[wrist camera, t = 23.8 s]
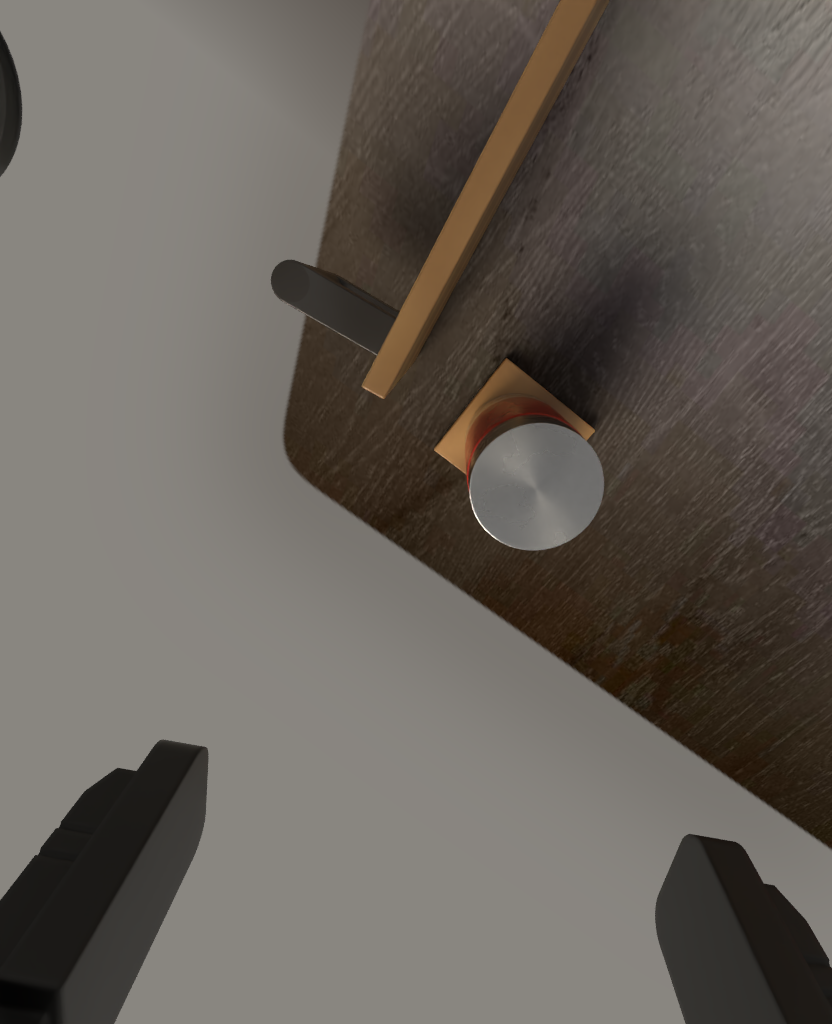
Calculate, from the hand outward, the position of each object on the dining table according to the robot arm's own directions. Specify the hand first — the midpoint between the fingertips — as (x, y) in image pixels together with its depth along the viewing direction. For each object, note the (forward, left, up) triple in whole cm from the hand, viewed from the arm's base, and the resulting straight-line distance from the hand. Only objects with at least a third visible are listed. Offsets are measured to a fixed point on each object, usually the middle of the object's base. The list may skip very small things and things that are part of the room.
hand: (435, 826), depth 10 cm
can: (+2, +4, -28) cm, 28 cm away
